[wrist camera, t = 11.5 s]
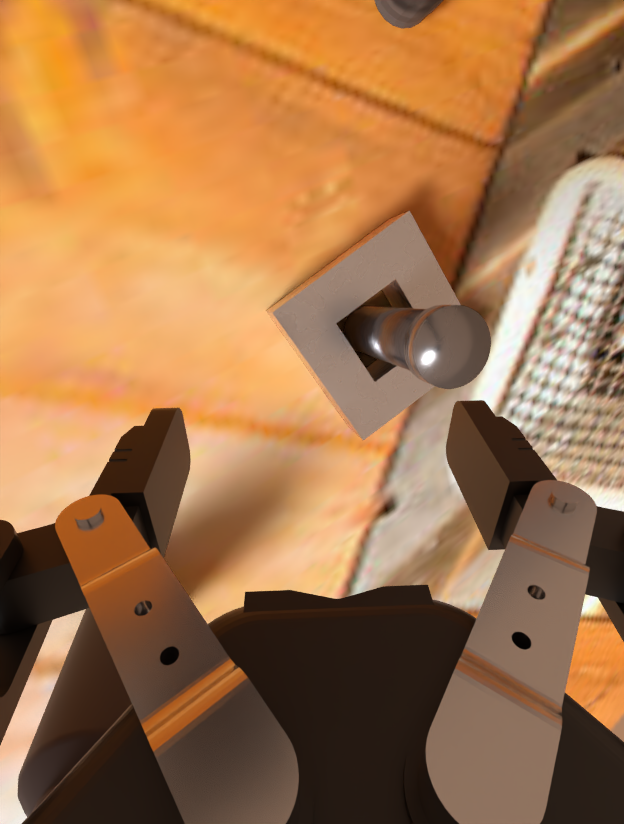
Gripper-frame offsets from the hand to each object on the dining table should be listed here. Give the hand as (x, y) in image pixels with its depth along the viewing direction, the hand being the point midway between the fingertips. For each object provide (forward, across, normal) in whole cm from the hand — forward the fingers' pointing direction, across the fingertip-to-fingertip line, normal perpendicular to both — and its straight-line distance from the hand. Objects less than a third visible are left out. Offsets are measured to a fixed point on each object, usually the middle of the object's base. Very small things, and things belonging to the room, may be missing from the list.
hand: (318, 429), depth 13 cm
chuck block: (+24, -5, +6) cm, 25 cm away
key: (+24, -5, +7) cm, 25 cm away
